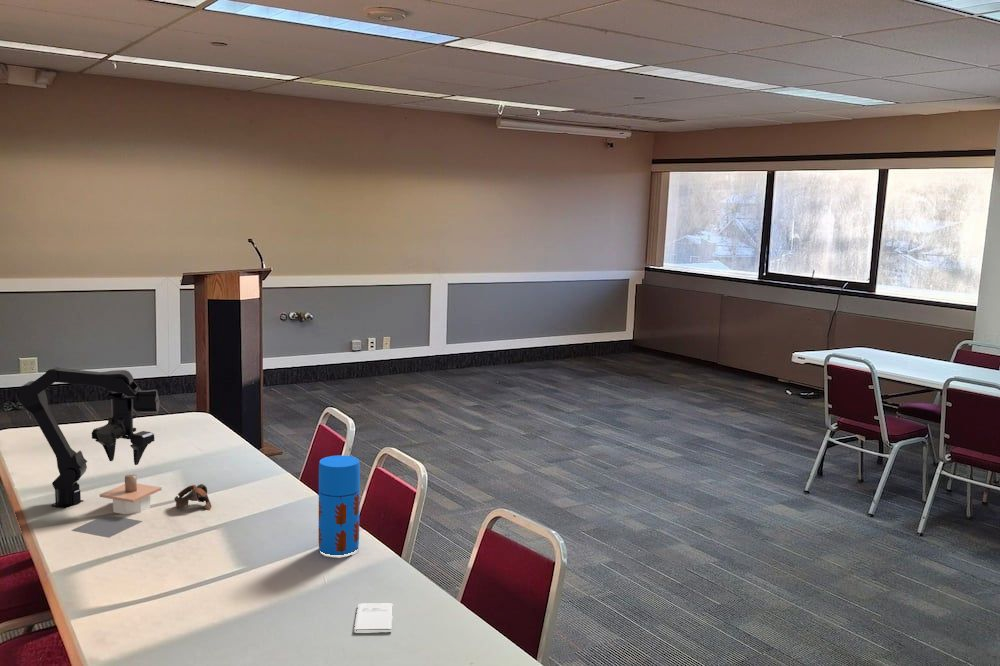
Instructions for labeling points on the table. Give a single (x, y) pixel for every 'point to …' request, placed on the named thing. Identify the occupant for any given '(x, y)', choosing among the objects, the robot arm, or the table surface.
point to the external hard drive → (374, 616)
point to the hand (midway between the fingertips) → (123, 462)
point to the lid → (130, 490)
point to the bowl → (131, 506)
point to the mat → (107, 526)
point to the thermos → (339, 504)
